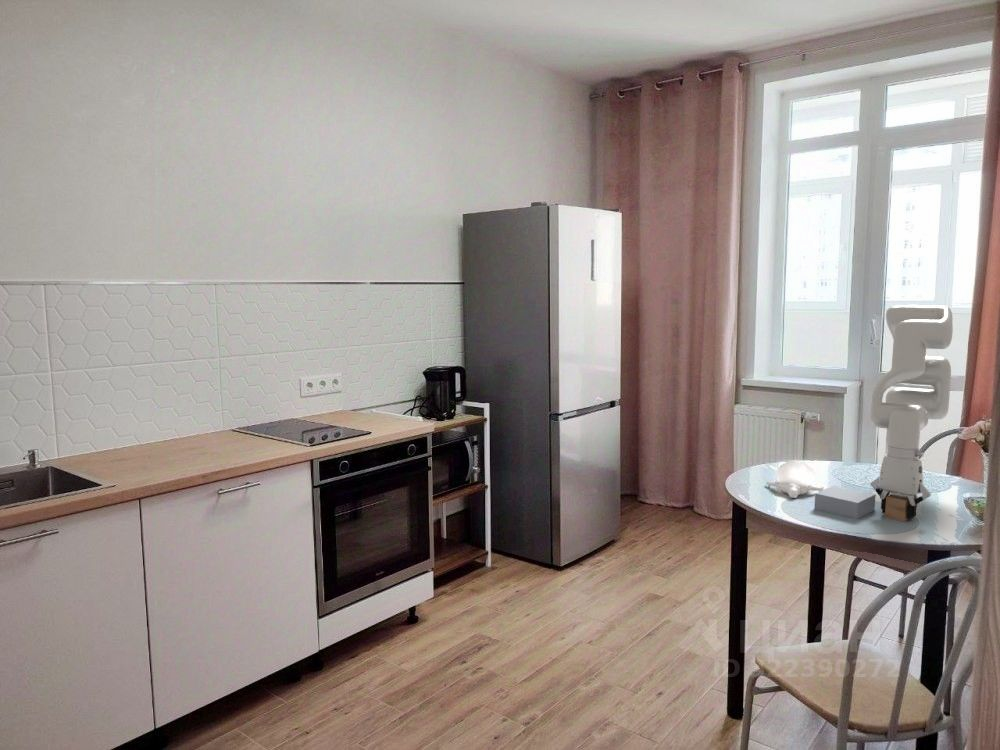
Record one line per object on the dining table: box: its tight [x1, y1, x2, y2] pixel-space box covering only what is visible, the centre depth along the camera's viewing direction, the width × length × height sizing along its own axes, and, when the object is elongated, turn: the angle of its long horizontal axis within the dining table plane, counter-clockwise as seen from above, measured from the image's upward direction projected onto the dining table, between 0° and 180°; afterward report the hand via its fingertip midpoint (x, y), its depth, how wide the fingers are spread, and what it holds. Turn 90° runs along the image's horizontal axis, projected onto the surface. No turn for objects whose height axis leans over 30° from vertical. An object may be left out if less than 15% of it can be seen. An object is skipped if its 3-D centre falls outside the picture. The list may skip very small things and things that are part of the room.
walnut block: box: [884, 492, 910, 523], centre depth 196 cm, size 5×5×6 cm
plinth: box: [813, 485, 877, 520], centre depth 203 cm, size 12×12×5 cm
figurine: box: [766, 459, 825, 499], centre depth 224 cm, size 17×9×25 cm
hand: (898, 514), depth 196 cm, fingers open, 5 cm apart
